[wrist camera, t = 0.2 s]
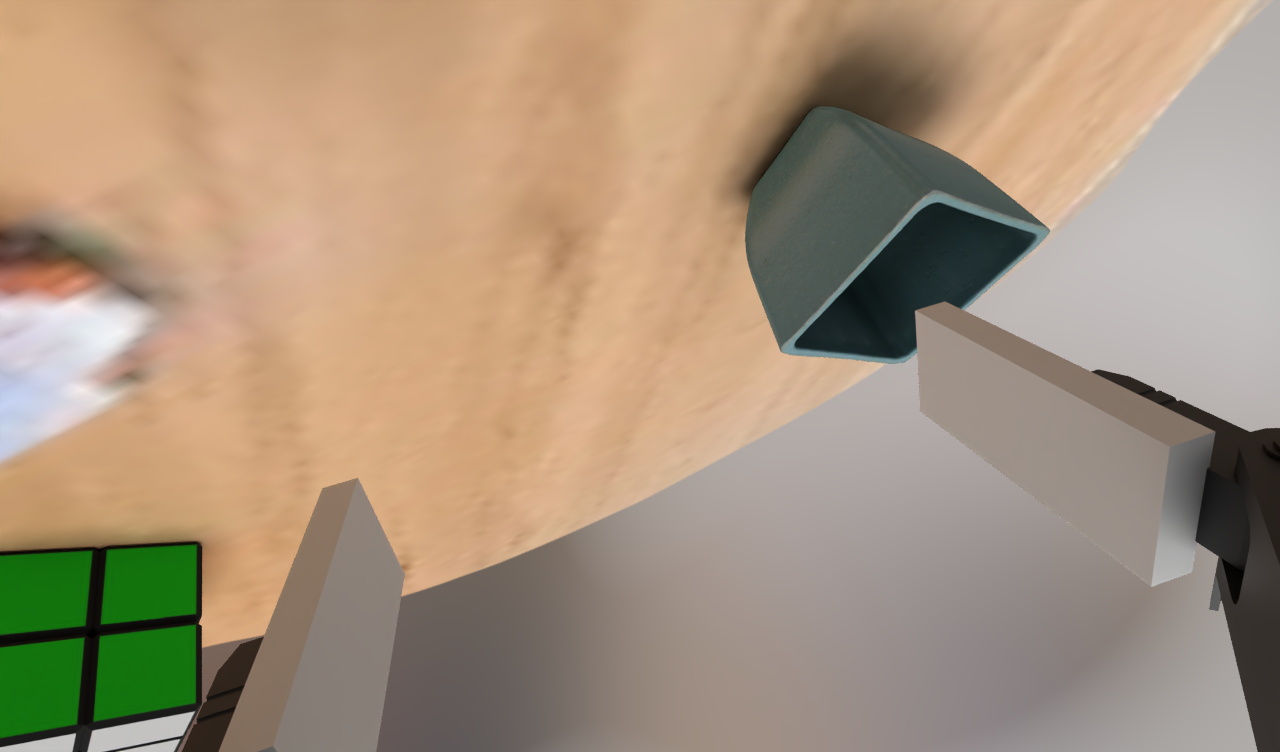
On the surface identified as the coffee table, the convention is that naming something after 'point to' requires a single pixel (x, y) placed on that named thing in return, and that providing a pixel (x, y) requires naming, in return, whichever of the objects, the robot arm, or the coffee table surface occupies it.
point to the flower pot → (873, 237)
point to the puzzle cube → (100, 648)
